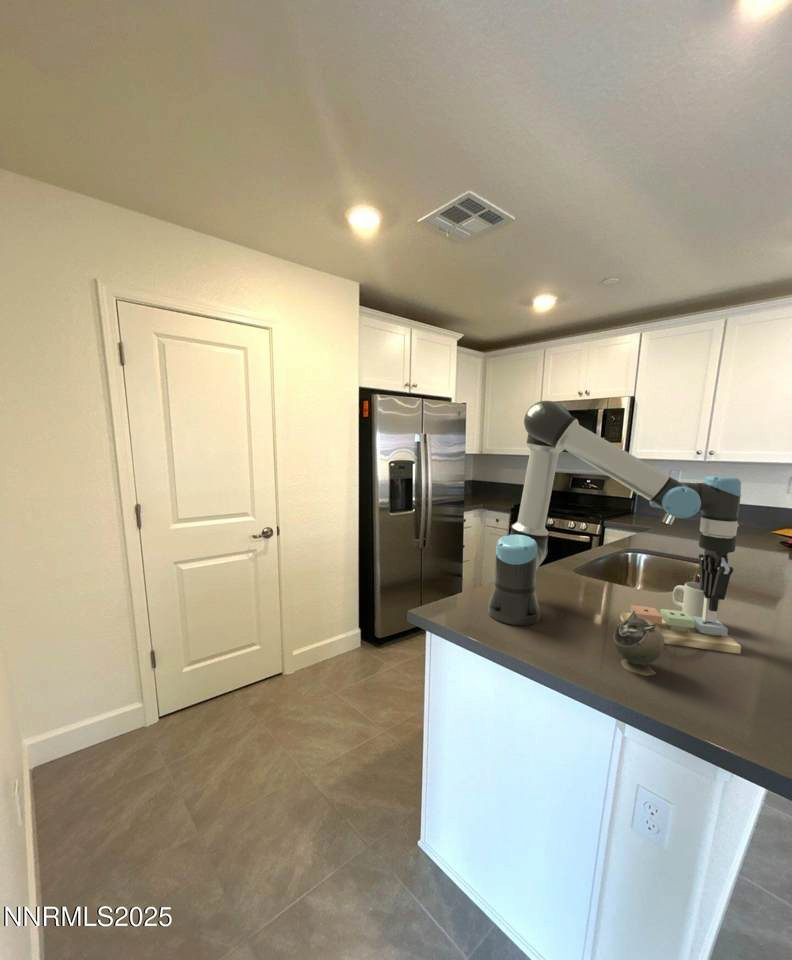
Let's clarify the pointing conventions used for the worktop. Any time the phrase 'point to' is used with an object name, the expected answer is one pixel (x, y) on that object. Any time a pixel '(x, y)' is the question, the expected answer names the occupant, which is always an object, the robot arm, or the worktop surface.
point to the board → (694, 638)
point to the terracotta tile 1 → (647, 614)
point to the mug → (691, 599)
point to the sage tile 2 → (677, 620)
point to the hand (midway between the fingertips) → (709, 620)
